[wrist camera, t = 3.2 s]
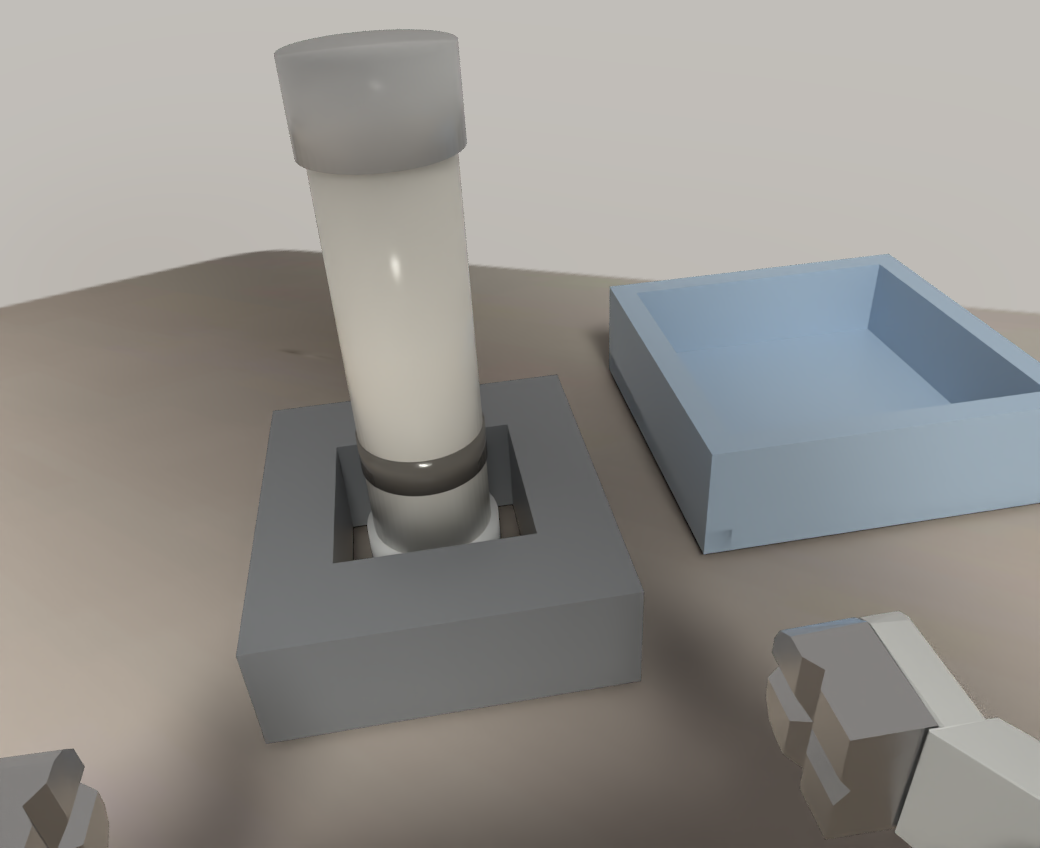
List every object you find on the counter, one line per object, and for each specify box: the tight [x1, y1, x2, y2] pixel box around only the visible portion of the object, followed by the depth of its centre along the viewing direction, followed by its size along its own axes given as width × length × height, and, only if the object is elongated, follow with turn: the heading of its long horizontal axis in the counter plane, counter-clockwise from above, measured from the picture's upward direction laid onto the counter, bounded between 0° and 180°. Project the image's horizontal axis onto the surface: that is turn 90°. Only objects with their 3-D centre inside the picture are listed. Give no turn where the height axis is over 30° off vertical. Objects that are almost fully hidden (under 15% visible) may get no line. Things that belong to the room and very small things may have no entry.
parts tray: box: [609, 254, 1040, 554], centre depth 29 cm, size 11×11×4 cm
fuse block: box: [236, 375, 644, 744], centre depth 24 cm, size 9×10×3 cm
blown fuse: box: [274, 29, 501, 558], centre depth 21 cm, size 4×4×14 cm
